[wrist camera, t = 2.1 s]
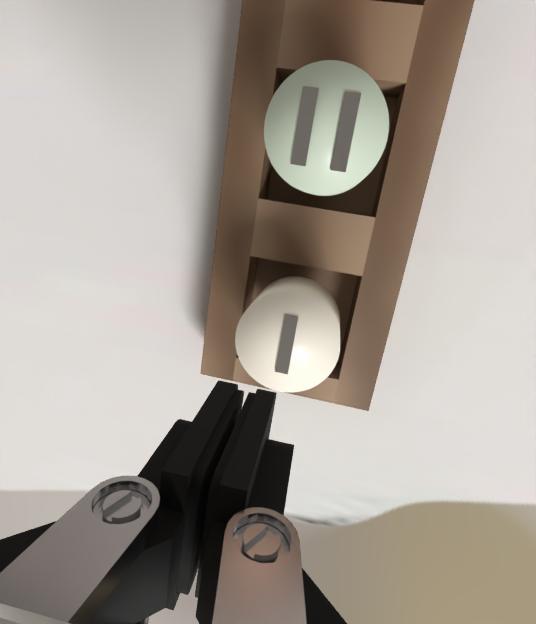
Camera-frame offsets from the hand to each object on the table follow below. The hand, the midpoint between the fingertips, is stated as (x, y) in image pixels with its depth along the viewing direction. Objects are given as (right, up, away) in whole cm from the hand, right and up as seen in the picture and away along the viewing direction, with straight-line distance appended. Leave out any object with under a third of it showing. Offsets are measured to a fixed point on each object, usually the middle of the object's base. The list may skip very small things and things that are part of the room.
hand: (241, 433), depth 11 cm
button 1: (+2, +3, +11) cm, 11 cm away
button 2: (+4, +12, +8) cm, 14 cm away
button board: (+4, +12, +11) cm, 17 cm away
